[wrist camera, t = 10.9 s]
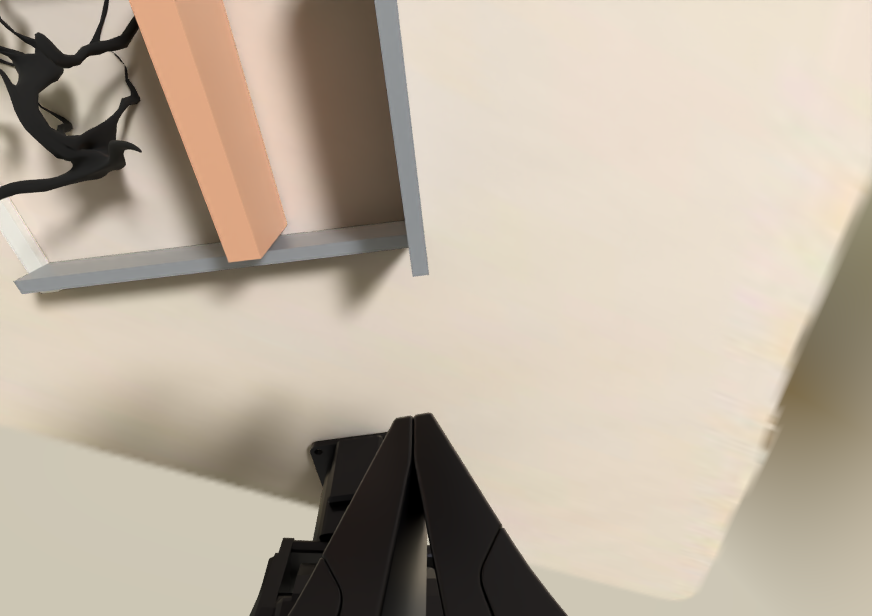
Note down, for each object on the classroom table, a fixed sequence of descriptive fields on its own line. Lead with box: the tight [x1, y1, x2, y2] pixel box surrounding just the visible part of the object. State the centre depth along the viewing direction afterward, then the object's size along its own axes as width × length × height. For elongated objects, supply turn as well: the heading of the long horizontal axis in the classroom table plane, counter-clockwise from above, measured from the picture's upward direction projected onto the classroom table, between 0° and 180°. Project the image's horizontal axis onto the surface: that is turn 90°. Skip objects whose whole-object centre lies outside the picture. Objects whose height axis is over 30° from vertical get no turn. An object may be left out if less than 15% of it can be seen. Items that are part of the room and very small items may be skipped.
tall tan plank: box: [129, 0, 287, 262], centre depth 14 cm, size 10×1×4 cm, turn 6°
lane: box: [0, 0, 429, 294], centre depth 14 cm, size 14×18×5 cm
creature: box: [0, 0, 142, 200], centre depth 13 cm, size 8×5×8 cm
